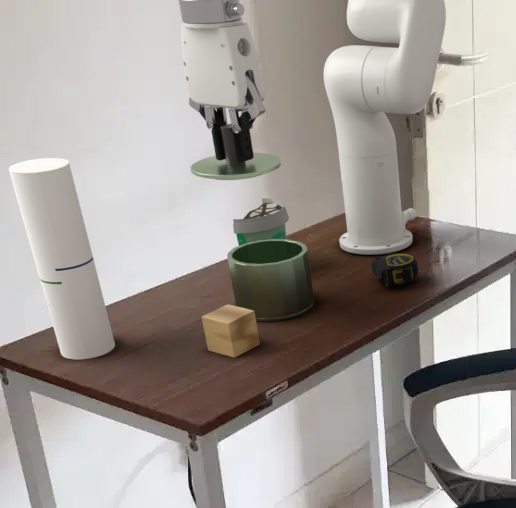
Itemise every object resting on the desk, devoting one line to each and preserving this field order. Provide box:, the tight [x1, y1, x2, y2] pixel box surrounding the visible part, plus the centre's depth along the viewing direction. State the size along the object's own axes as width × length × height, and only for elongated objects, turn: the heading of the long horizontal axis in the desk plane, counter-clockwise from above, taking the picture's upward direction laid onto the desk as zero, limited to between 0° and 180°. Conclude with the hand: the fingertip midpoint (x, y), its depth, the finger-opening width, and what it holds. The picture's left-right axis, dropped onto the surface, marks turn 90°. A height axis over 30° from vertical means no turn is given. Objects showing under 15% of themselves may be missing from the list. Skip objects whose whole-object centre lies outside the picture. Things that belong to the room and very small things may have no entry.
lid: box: [190, 123, 282, 181], centre depth 137 cm, size 12×12×6 cm
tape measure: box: [370, 252, 419, 288], centre depth 157 cm, size 7×7×4 cm
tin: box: [227, 238, 315, 323], centre depth 148 cm, size 11×11×8 cm
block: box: [201, 303, 261, 359], centre depth 137 cm, size 5×5×5 cm
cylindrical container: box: [8, 157, 116, 360], centre depth 133 cm, size 7×7×25 cm
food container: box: [232, 197, 290, 246], centre depth 161 cm, size 12×6×10 cm, turn 168°
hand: (235, 158), depth 138 cm, fingers closed on lid, 2 cm apart
